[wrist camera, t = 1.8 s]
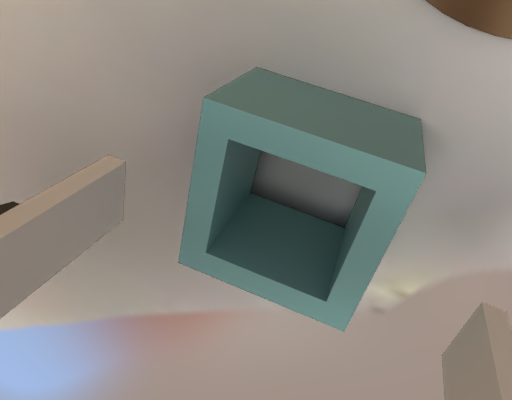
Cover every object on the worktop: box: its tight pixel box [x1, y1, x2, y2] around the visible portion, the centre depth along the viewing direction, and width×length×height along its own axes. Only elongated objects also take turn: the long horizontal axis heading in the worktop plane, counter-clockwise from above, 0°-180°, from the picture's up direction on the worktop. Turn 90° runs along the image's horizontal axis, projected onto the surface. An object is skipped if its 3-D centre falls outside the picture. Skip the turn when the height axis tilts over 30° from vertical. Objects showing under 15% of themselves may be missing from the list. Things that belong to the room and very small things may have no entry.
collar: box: [178, 67, 426, 331], centre depth 18 cm, size 8×8×6 cm
